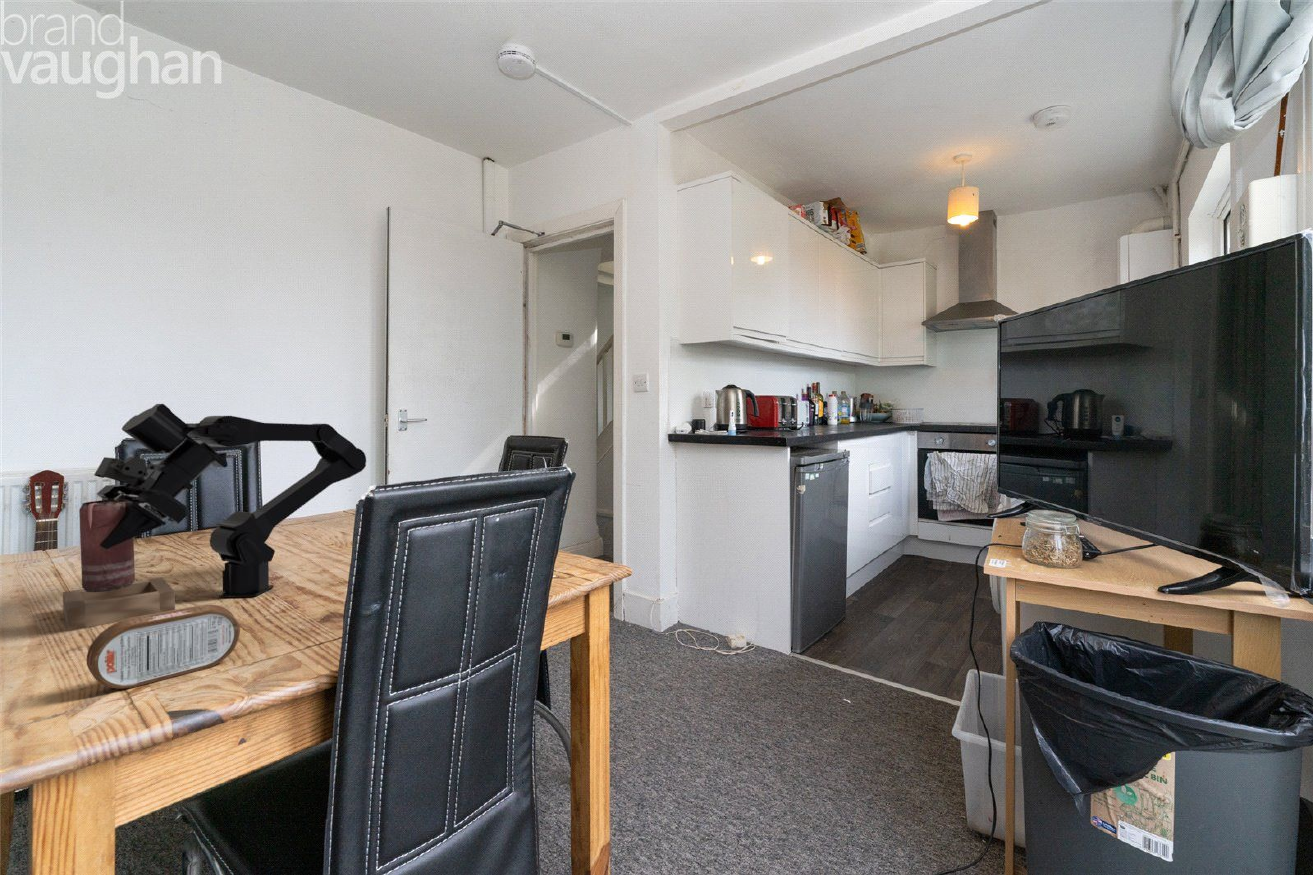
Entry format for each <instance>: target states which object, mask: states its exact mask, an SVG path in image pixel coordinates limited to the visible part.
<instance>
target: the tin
mask: <svg viewBox="0 0 1313 875" xmlns="http://www.w3.org/2000/svg"><path fill="white" fill-rule="evenodd" d="M240 634H241V629H240V624H239V621H238V620H237V619H236V617H235V615H234V614H233V613H232V612H231V611H230V610H229V609H227V608H226V607H224V606H221V605H219V604H218V605H217V604H200V605H196V606H195V605H194V606H189V607H183V608H178V609H175V610H172V611H167V612H161V613H155V614H150V615H144V616H138V617H133V618H128V619H125V620H122V621H118V622H114V623H113V624H112V625H110V626H108V627H107V628H106V629H104V630H102V631H101V632H100V633H99V634H98V635H97V637H95V639H94V640H93V641H92V643H91V644H90V646H89V648H88V651H87V653H86V654H87V655H86V667H87V669H88V671H89V673H91V675H92V676H93V678H94V679H95V680H96V681H97V682H98V683H99V684H101V685H104V686H106V687H108V688H113V689H120V690H121V689H132V688H137V687H140V686H144V685H148V684H152V683H155V682H159V681H163V680H169V679H171V678H176V677H179V676H184V675H188V674H191V673H195V672H199V671H203V670H206V669H210V668H212V667H214V666H216V665H219V664H220V663H221V662H223V661H224V660H225V659H226V658H227V657H228V656H230V655H231V654H232V653H233V651H234V650H235V648H236V646H237V645H238V642H239V638H240Z"/></svg>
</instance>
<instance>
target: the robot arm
mask: <svg viewBox="0 0 1313 875" xmlns="http://www.w3.org/2000/svg"><path fill="white" fill-rule="evenodd" d="M121 430H122V431H123V432H124V433H126V434H127V436H130V437H131V438H132V439H133V440H135V441H136V442H138V443H139V444H141V445H142V446H143V447H145V448H146V449H148V450H149V451H150V452H151V453H153V454H157V453H160V452H163V453H164V454H167V453H169V452H170V453H169V454H167V455H166V456H165V457H164V458H163V459H161V460H160V461H159V462H158V463H157V464H155V463H151V464H150V463H149V464H146V459H143V458H141V457H137V456H129V457H127V458H126V459H125V460H123V459H120V458H116V457H107V456H105V457H103V458H102V461H100V464H99V465H98V467H97V468H96V471H95V472H94V474H93V475H94V476H95V477H98V478H101V479H102V478H106V479H110V480H114V481H117V482H121V483H124V484H122V485H121V484H108V485H107V484H106V485H105V486H104V487H102V488H101V489H100V490H99V491H98V492H97V493H96V495H97V496H98V497H100V498H101V501H102V500H119V499H123V500H129V501H126V502H125V515H124V516H123V518H122V519H121V520H120V521H119V523H118V524H117V526H116V527H115V528H114V529H113V530H112V532H111V533H110V534H109V535H108V536H107V538H106V539H105V540H104V541H103V542H102V543H101V544H100V546H101V547H103V548H105V549H108V548H111V547H113V546H115V545H117V544H120V543H122V542H124V541H126V540H129V539H131V538H133V537H134V538H136V537H137V536H140V535H142V534H145V533H147V532H150V531H152V530H155V529H157V528H159V527H163V526H166V525H167V522H165V521H164V520H165V519H166V518H168V519H167V521H168V522H169V523H171V524H178V525H179V524H180V523H181V522H182V521H183V520H184V519H185V518H186V517H187V516H188V506H186V505H185V504H184V503H182V502H181V501H179V500H178V499H177V497H179V495H181V493H182V492H183V491H190V490H192V489H193V488H194V487H195V485H193V484H192V483H193V482H194V481H195V480H196V479H197V478H199V477H200V476H201V474H202V473H204V472H205V471H206V470H207V469H208V468H209V467H210V466H211V465H212V466H213V467H216V468H227V467H228V460H227V453H226V452H217V451H216V450H214V449H213V447H223V448H224V447H225V448H226V447H227V448H228V447H229V448H230V447H231V448H232V447H238V446H239V447H240V446H244V445H250V444H253V443H259V442H310V443H312V444H313V447H314V448H315V450H316V453H317V454H318V455H319V456H320V457H321V458H320V459H319V460H318V462H317V463H316V466H315V468H314V469H313V470H312V471H310V472H309V473H307V474H306V475H305V476H303V477H302V478H301V479H299V480H297V481H296V482H294V483H293V484H292V485H290V486H289V487H288V488H286V489H285V490H283V491H282V492H280V493H279V494H278V495H276V496H275V497H273V498H272V499H271V500H269V501H268V502H267V503H265V504H263V505H262V506H261V507H259V508H257V510H255V511H253V512H246V511H239V510H235V511H234V512H233V513H232V514H231V515H230V516H228V517H227V519H225V520H223V521H221V522H217V523H216V528H215V529H214V530H213V531H212V532H211V533H210V538H209V546H210V547H211V549H212V550H213V551H214V552H215V553H217V554H218V555H219V558H220V559H221V561H222V562H224V569H223V570H222V592H223V593H220V594H218V597H219V598H252V597H253V598H254V597H257V596H260V595H261V594H263V593H265V592H267V591H270V590H271V589H273V588H274V587H275V585H274V584H270V583H269V582H270V581H269V577H270V576H269V573H270V572H269V571H270V570H269V567H270V566H269V565H270V564H269V563H270V562H272V561H273V558H274V555H275V553H276V550H275V548H272V547H271V546H269V545H268V543H266V541H268V539H269V537H270V536H271V533H272V532H273V530H274V528H275V527H277V525H279V524H280V523H282V522H283V521H284V520H286V519H287V518H288V517H290V516H291V515H292V514H294V513H295V512H297V510H299V509H300V508H302V507H303V506H304V505H306V504H307V503H308V502H310V501H311V500H313V499H314V498H315V497H317V496H318V495H319V494H320V493H322V492H323V491H325V490H326V489H327V488H329V487H330V486H332V485H333V484H334V483H335V484H336V483H338V482H341V481H344V480H348V479H349V478H352V477H353V476H355V475H357V474H359V473H361V472H362V471H363V470H364V469H365V468H366V466H367V465H366V464H367V456H366V453H365V452H364V451H363V449H361V448H358V447H357V446H355V445H354V443H353V442H352V441H350V440H348V439H347V438H346V437H344V436H343V435H342V434H340V433H339V432H337V430H336V429H335V428H334V427H333V426H332V425H330V424H328V423H311V424H309V423H279V422H278V423H276V422H275V423H274V422H262V421H257V420H253V419H250V418H244V417H240V416H234V415H209V416H205V417H204V418H202V419H201V420H200V421H199V422H198V423H197V422H196V423H193V422H191V423H189V422H187V423H186V422H185V421H183V420H182V419H181V418H180V417H179V416H177V415H176V414H175V413H174V412H172V410H171V409H170V407H168V406H167V405H166V404H164V403H156V404H155V405H153V406H152V407H150V408H148V409H146V410H144V411H141V413H139V414H136V415H133V416H132V417H131V418H130V419H129V420H128V421H126V422H125V423H124V424H123V425H122V428H121ZM194 439H199V441H201V443H199V442H198V441H196V440H194Z"/></svg>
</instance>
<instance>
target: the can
mask: <svg viewBox="0 0 1313 875" xmlns="http://www.w3.org/2000/svg"><path fill="white" fill-rule="evenodd" d="M126 501H129V500H123V499H119V500H102V499H101V500H96V501H95V500H93V501H92V500H91V501H86V502H83V503H81V504H82V505H81V506H80V508H79V512H78V513H79V537H80V538H79V540H80V558H81V559H80V564H81V567H80V568H81V587H82V588H81V589H84V590H85V591H86V592H104V591H111V590H117V589H121V588H125V587H128V586H130V585H132V583H133V582H135V581H136V575H135V574H136V573H135V569H136V568H135V547H134V546H135V544H134V538H135V537H133V538H131V539H129V540H126V541H124V542H122V543H120V544H117V545H115V546H113V547H111V548H108V549H105V548H103V547H101V546H100V544H101V543H102V542H103V541H104V540H105V539H106V538H107V536H108V535H109V534H110V533H111V532H112V530H113V529H114V528H115V527H116V526H117V524H118V523H119V521H120V520H121V519H122V518H123V516H124V515H125V502H126Z"/></svg>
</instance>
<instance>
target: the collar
mask: <svg viewBox="0 0 1313 875" xmlns="http://www.w3.org/2000/svg"><path fill="white" fill-rule="evenodd" d="M175 593H176V592H175V590H174V588H172V586H171V585H170V584H169V583H168V582H167V581H166V580H165V579H164V578H163V577H155V578H150V579H149V578H148V579H144V580H134V582H133V583H132V585H130V586H128V587H125V588H121V589H117V590H111V591H104V592H86V591H85V590H84V589H83V588H81V589H76V590H70V591H63V592H62V612H63V617H64V621H65V625H66V630H67V632H69V631H75V630H78V629H85V628H89V627H90V628H91V627H96V626H102V625H106V624H112V623H113V624H114V623H117V622H120V621H122V620H125V619H128V618H133V617H138V616H144V615H150V614H155V613H161V612H167V611H172V610H176V602H175V601H176V597H175V596H176V594H175Z"/></svg>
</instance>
